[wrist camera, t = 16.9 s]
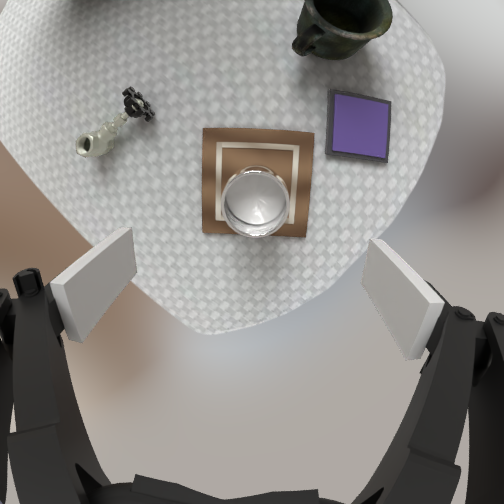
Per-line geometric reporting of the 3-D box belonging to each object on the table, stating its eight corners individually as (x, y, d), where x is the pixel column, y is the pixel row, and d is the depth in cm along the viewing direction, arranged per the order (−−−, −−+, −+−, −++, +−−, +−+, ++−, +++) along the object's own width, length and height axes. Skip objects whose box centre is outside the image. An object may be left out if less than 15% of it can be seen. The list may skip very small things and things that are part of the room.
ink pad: (328, 90, 35) (330, 88, 34) (388, 102, 35) (392, 101, 33) (324, 154, 39) (327, 154, 37) (384, 162, 39) (388, 163, 37)
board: (204, 128, 38) (202, 128, 37) (313, 133, 38) (314, 132, 37) (203, 230, 44) (202, 232, 43) (304, 235, 44) (305, 237, 43)
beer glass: (267, 213, 42) (270, 251, 28) (225, 192, 41) (206, 221, 27) (289, 172, 39) (305, 189, 25) (246, 150, 38) (238, 155, 24)
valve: (107, 165, 40) (160, 119, 37) (85, 171, 34) (143, 116, 31) (88, 136, 38) (139, 89, 35) (66, 138, 32) (121, 82, 29)
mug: (375, 40, 31) (408, 15, 20) (316, 89, 35) (338, 71, 24) (325, -4, 28) (343, -40, 17) (263, 43, 33) (263, 10, 21)
